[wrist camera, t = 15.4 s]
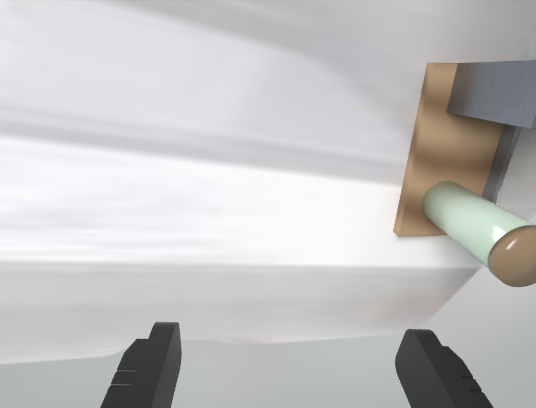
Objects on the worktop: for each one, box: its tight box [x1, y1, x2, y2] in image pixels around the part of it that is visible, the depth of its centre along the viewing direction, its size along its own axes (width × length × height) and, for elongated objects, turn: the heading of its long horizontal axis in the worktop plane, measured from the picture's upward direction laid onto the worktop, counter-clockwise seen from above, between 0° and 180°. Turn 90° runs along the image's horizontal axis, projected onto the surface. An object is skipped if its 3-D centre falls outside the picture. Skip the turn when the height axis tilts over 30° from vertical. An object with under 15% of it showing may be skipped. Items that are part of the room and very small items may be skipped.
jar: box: [421, 181, 536, 287], centre depth 33 cm, size 6×6×13 cm
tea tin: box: [446, 60, 536, 129], centre depth 29 cm, size 5×5×11 cm
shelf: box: [393, 63, 521, 237], centre depth 37 cm, size 21×11×3 cm, turn 179°
